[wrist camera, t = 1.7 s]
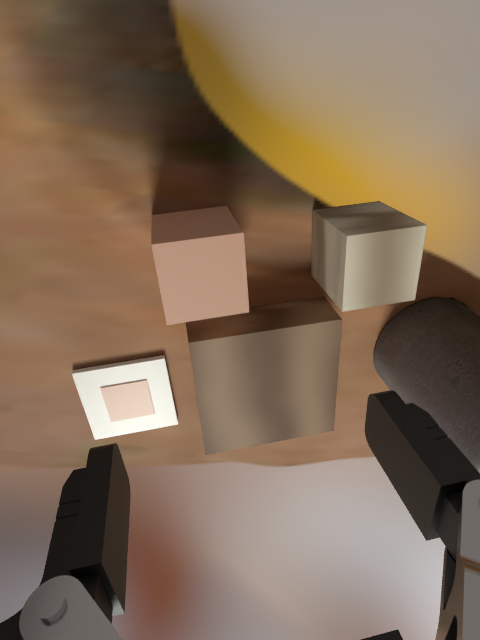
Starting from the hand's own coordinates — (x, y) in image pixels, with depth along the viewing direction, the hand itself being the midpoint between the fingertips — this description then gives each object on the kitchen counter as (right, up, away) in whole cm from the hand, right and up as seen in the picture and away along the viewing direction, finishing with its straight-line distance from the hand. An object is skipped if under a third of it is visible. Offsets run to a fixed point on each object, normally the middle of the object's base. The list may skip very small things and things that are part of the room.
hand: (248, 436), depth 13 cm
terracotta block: (-3, +9, +15) cm, 18 cm away
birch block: (+7, +10, +17) cm, 21 cm away
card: (-9, -3, +21) cm, 23 cm away
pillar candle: (+16, +1, +24) cm, 29 cm away
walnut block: (+1, 0, +22) cm, 22 cm away
